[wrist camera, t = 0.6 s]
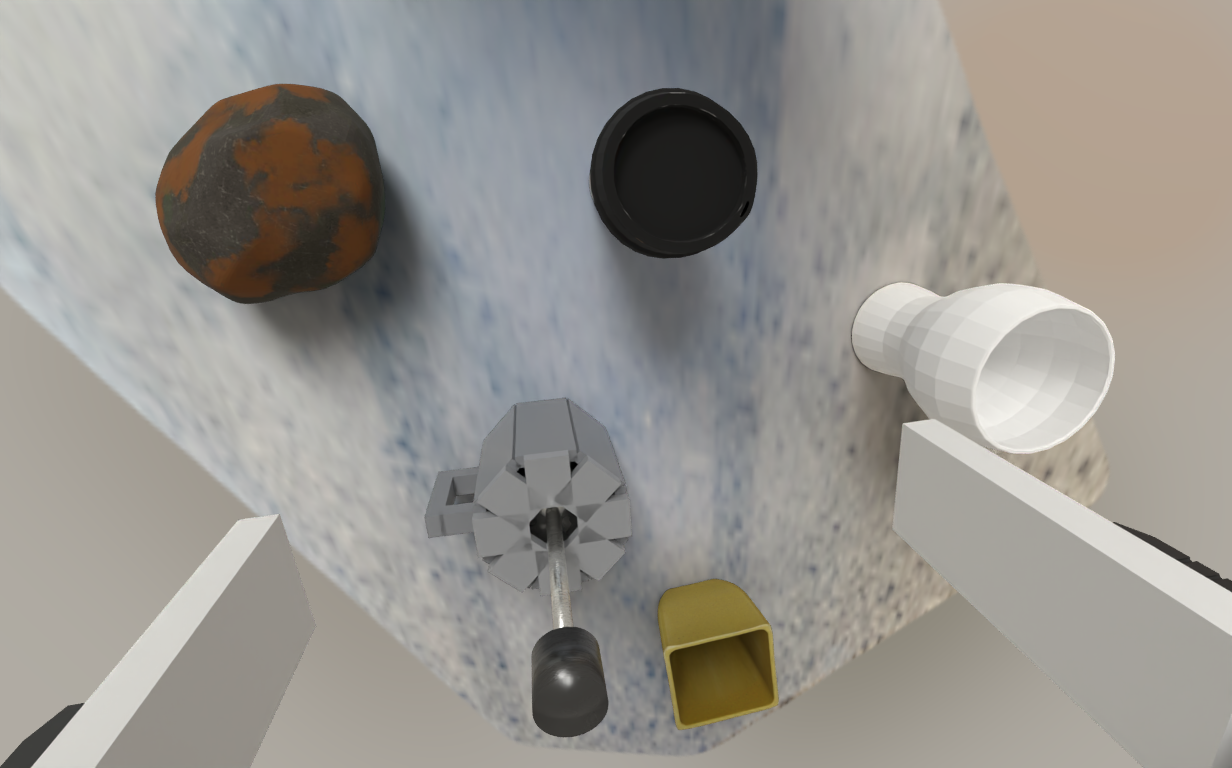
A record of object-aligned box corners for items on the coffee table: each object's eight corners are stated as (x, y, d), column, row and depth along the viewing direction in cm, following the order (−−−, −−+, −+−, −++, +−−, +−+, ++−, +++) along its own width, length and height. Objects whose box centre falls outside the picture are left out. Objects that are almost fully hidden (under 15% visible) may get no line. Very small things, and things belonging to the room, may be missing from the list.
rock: (292, 324, 42) (225, 362, 32) (168, 194, 38) (50, 193, 29) (443, 210, 41) (419, 214, 31) (330, 65, 37) (265, 22, 28)
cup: (814, 312, 47) (937, 362, 33) (925, 238, 47) (1098, 257, 33) (865, 410, 51) (996, 493, 37) (968, 343, 50) (1142, 400, 36)
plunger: (499, 472, 39) (483, 660, 23) (594, 460, 39) (641, 634, 24) (511, 554, 41) (503, 777, 25) (601, 541, 41) (648, 750, 26)
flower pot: (654, 652, 56) (677, 734, 47) (640, 577, 53) (663, 650, 44) (741, 630, 57) (779, 706, 48) (733, 555, 54) (772, 623, 45)
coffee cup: (654, 260, 44) (715, 291, 30) (552, 210, 42) (566, 218, 28) (705, 153, 42) (796, 133, 28) (601, 95, 40) (643, 42, 26)
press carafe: (433, 411, 45) (406, 474, 35) (603, 393, 47) (626, 448, 37) (452, 524, 48) (433, 612, 38) (612, 503, 50) (634, 582, 40)
